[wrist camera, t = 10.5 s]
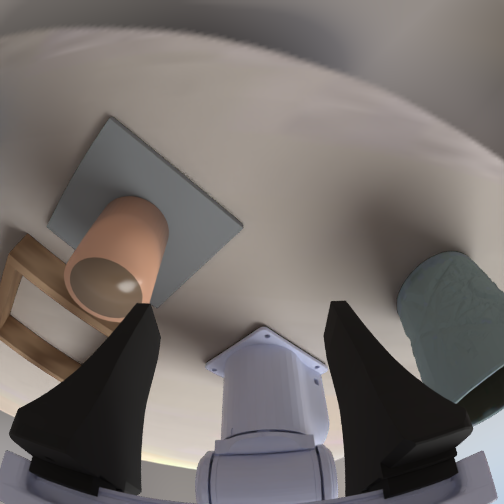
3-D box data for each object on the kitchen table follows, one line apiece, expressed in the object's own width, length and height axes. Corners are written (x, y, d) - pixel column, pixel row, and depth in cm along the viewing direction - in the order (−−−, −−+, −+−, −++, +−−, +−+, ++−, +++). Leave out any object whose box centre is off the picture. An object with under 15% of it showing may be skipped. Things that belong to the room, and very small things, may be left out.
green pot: (412, 341, 28) (451, 441, 18) (366, 293, 24) (415, 423, 14) (488, 283, 24) (548, 373, 14) (461, 216, 20) (554, 322, 10)
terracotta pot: (184, 228, 20) (168, 290, 15) (142, 271, 22) (122, 334, 17) (123, 181, 18) (85, 232, 13) (88, 231, 20) (52, 288, 15)
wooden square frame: (157, 327, 26) (150, 354, 23) (98, 379, 31) (92, 399, 29) (27, 233, 20) (8, 253, 18) (2, 313, 26) (-10, 331, 23)
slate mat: (243, 224, 20) (243, 228, 20) (158, 304, 24) (157, 308, 24) (112, 116, 16) (109, 118, 16) (49, 223, 20) (46, 227, 20)
